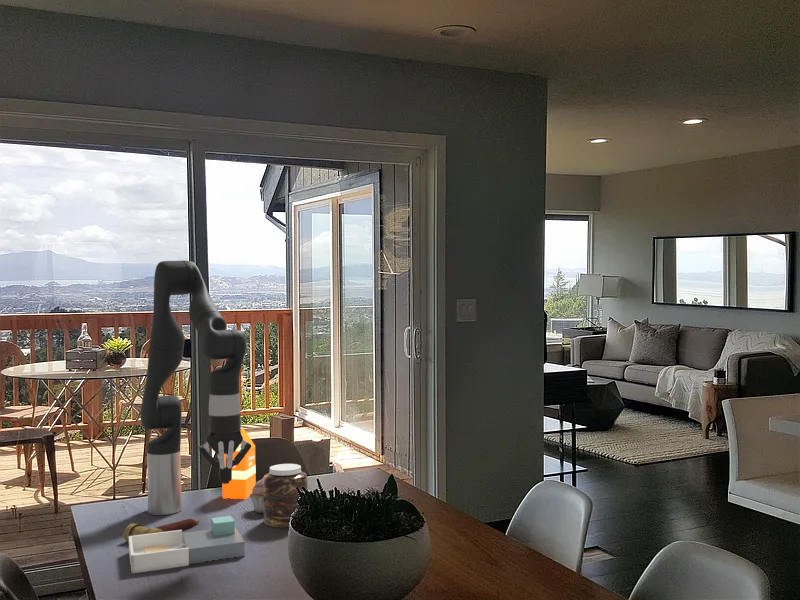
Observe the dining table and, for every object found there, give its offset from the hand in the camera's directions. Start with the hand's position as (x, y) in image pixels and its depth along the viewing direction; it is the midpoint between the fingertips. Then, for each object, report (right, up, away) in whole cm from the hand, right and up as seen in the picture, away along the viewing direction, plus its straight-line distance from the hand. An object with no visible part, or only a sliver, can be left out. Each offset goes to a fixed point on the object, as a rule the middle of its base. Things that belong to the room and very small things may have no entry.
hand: (225, 483), depth 186 cm
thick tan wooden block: (-14, -13, -8) cm, 21 cm away
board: (-3, -17, 0) cm, 17 cm away
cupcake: (+4, -16, +35) cm, 39 cm away
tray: (-15, -17, -5) cm, 23 cm away
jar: (+11, -17, +24) cm, 31 cm away
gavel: (-18, -17, +14) cm, 29 cm away
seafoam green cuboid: (-2, -13, +4) cm, 14 cm away
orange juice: (-7, -16, +52) cm, 55 cm away
